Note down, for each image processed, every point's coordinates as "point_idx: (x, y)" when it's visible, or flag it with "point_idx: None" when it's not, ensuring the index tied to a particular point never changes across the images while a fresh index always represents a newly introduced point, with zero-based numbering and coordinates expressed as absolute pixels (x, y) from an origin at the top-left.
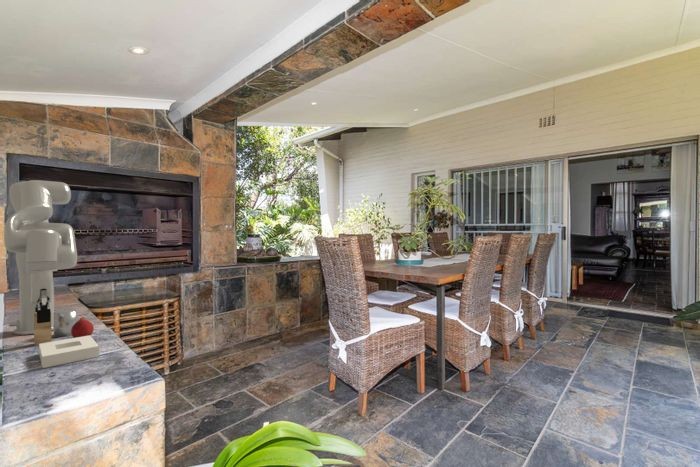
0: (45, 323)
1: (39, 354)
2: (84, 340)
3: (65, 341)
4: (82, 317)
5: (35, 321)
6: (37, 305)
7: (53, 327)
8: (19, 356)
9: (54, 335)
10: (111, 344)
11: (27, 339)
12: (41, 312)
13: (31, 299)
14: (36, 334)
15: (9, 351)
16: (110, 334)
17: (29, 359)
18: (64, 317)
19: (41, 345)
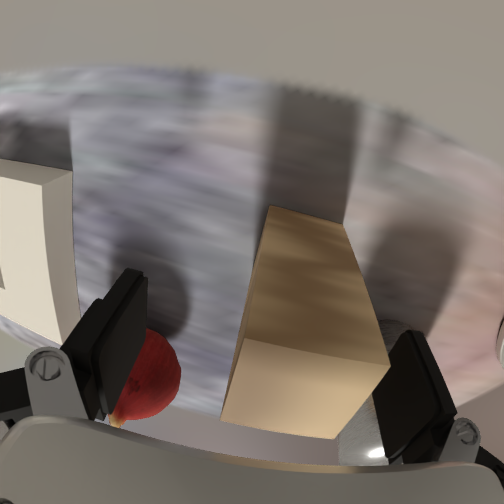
0: (241, 326)
1: (47, 168)
2: (2, 298)
3: (18, 263)
4: (110, 422)
5: (253, 292)
6: (444, 439)
7: (500, 355)
8: (103, 105)
9: (386, 324)
10: (48, 342)
11: (468, 240)
12: (67, 349)
13: (52, 483)
14: (262, 240)
15: (268, 90)
16: (190, 408)
17: (31, 131)
18: (349, 424)
19: (11, 185)
